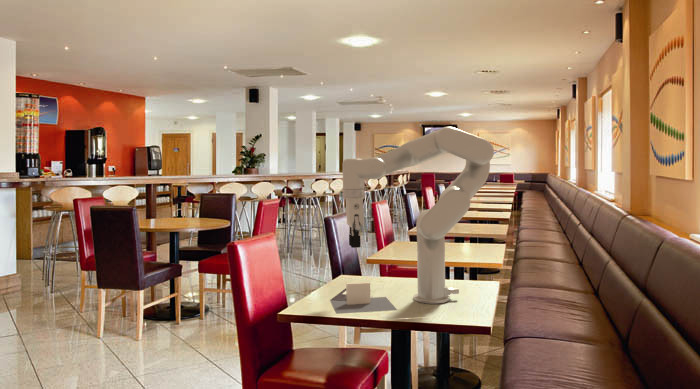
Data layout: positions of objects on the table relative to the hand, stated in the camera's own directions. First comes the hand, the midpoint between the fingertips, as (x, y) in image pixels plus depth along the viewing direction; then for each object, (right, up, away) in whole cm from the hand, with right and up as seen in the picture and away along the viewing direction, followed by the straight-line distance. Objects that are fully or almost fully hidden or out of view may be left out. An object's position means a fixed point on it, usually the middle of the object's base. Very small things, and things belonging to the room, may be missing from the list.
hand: (354, 245), depth 196 cm
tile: (+1, -19, -5) cm, 20 cm away
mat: (+3, -20, -7) cm, 21 cm away
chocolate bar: (-2, -19, +8) cm, 21 cm away
